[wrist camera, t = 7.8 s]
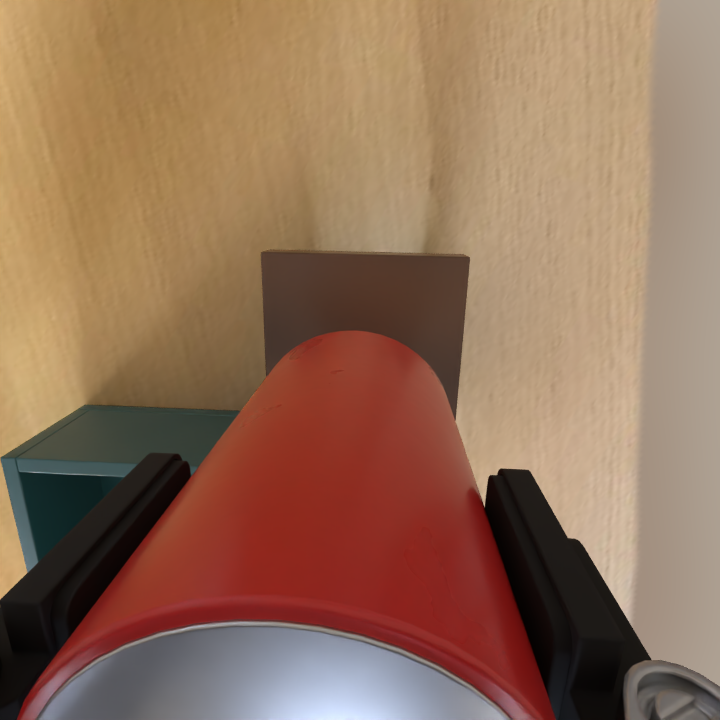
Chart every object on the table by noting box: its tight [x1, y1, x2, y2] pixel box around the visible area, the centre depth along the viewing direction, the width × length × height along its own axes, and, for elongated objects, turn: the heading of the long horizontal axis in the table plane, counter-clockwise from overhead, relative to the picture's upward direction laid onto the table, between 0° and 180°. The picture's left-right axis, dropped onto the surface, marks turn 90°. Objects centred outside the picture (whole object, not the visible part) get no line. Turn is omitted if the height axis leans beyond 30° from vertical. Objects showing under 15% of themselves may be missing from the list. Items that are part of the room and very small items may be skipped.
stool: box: [261, 250, 470, 421], centre depth 24 cm, size 9×9×6 cm
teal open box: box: [1, 405, 240, 572], centre depth 28 cm, size 15×14×7 cm
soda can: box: [17, 330, 556, 720], centre depth 10 cm, size 6×6×10 cm
